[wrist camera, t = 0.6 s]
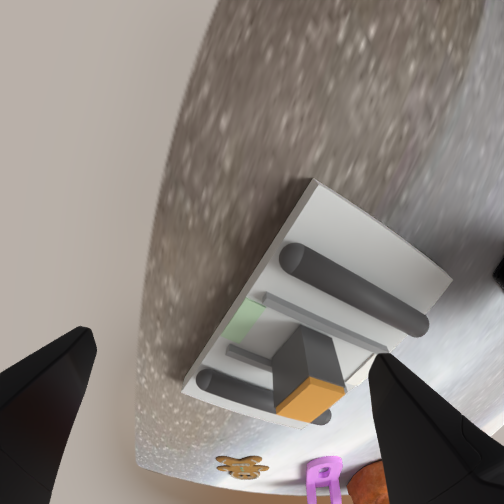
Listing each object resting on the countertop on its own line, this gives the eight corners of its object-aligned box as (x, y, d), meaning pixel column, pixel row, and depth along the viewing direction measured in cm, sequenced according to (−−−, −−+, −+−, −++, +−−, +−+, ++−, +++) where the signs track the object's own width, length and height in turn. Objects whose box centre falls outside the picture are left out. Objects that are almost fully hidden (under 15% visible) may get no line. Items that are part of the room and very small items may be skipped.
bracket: (335, 478, 41) (339, 508, 34) (305, 482, 41) (308, 513, 35) (343, 452, 35) (350, 490, 29) (307, 458, 36) (310, 496, 29)
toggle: (331, 337, 22) (347, 393, 16) (302, 369, 23) (310, 424, 18) (300, 324, 21) (310, 382, 16) (271, 357, 22) (274, 415, 17)
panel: (441, 268, 21) (465, 293, 18) (300, 415, 30) (303, 444, 26) (313, 177, 19) (326, 192, 15) (184, 377, 27) (177, 408, 24)
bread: (454, 459, 44) (468, 498, 32) (340, 487, 44) (346, 538, 32) (490, 424, 38) (510, 468, 26) (367, 458, 37) (380, 522, 25)
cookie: (266, 458, 34) (271, 480, 38) (266, 453, 35) (271, 475, 39) (209, 459, 35) (222, 480, 39) (210, 453, 36) (222, 476, 40)
